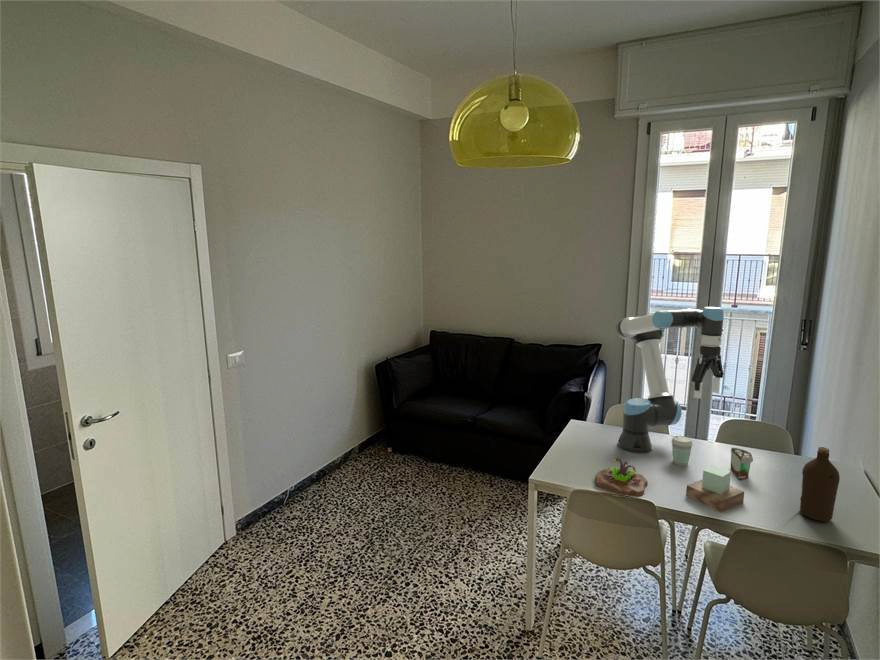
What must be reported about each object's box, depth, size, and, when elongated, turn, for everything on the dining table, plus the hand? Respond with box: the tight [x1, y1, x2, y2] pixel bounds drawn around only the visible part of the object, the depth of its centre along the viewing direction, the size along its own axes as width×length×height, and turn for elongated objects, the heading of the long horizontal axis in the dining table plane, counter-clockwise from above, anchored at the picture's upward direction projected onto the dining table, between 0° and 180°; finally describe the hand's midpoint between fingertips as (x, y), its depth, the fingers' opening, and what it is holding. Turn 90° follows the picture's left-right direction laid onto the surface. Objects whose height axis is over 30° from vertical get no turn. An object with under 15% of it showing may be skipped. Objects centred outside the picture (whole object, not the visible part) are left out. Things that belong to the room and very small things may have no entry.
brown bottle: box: [799, 446, 840, 522], centre depth 179 cm, size 11×11×25 cm
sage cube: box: [701, 465, 732, 494], centre depth 191 cm, size 7×7×7 cm
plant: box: [594, 457, 648, 497], centre depth 205 cm, size 20×20×11 cm
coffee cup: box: [671, 435, 694, 467], centre depth 222 cm, size 8×8×12 cm
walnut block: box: [685, 478, 745, 513], centre depth 192 cm, size 14×14×5 cm
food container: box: [730, 447, 754, 481], centre depth 211 cm, size 12×6×10 cm, turn 168°
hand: (706, 395), depth 208 cm, fingers open, 13 cm apart
